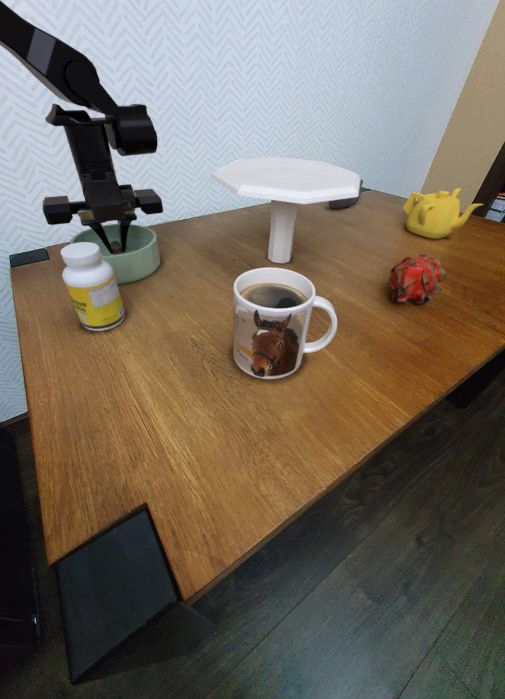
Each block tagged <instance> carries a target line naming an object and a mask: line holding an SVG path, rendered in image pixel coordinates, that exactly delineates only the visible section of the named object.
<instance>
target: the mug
mask: <svg viewBox="0 0 505 699" xmlns="http://www.w3.org/2000/svg"><path fill="white" fill-rule="evenodd" d="M316 292H317V291H316V288H315V285H314V283H313V282H312V281H311V280H310V279H309V278H308V277H306V276H304V275H303V274H301V273H299V272H297V271H294V270H290V269H287V268H282V267H271V266H269V267H257V268H254V269H250V270H247V271H245V272H243V273H241V274H240V275H238V277H237V278H236V279H235V280H234V283H233V287H232V355H233V359H234V362H235V364H236V365H237V366H238V368H240V369H241V370H242V371H243V372H244V373H246V374H248V375H250V376H252V377H255V378H259V379H263V380H276V379H283V378H285V377H288V376H290V375H291V374H293V373H294V372H296V371H297V370H298V369H299V367H300V366H301V364H302V361H303V357H304V354H311V353H316V352H318V351H321V350H323V349H324V348H326V347H327V346H328V345H329V344H331V342H332V341H333V339H334V337H335V336H336V333H337V330H338V318H337V312H336V309H335V307H334V306H333V304H332V303H331V302H330V301H329V300H328V299H327V298H325V297H322V296H319V295H317V294H316ZM314 307H315V308H320V309H321V310H324V311H325V312H326V313H327V314H328V316H329V318H330V324H329V327H328V330H327V331H326V333H324V335H323V336H322V337H320V338H319V339H317V340H315V341H313V342H307V338H308V333H309V328H310V323H311V320H312V319H311V318H312V314H313V310H314Z"/></svg>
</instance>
